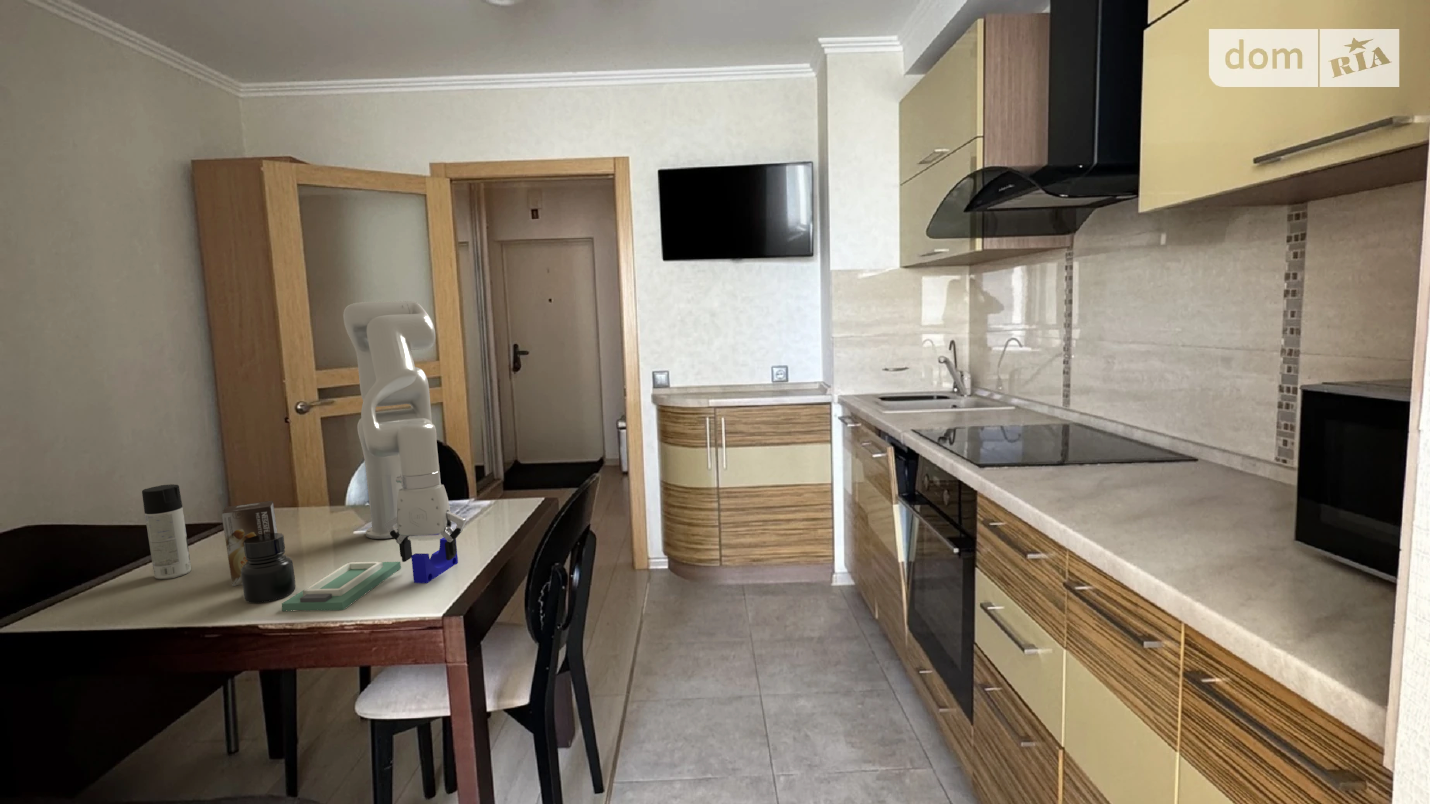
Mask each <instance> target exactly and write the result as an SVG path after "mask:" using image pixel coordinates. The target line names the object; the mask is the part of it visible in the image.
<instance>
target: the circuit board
mask: <svg viewBox="0 0 1430 804" xmlns="http://www.w3.org/2000/svg"><path fill="white" fill-rule="evenodd" d="M401 568H402V566H401V561H357V562H356V561H355V562H351V561H350V562H347V563H345V564H343V565H342V566H340V567H338V568H336V569H335V570H333V571H332V572H330V573H329V574H327V575H326V576H324V577H322V578H321V579H319V580H317V581H316V582H314V583H312V584H311V585H309V586H307V587H306V588H304V589H303V590H301V591H300V592H298V593H296V594H295V595H293V596H291V597H289V598H288V599H286V600H285V601H284V602H282V603H281V611H282V612H294V611H293V610H306V611H307V610H309V611H310V610H319V611H344V610H345V609H347V608H349V606H351V605H352V604H354V603H355V602H356V601H358V600H359V599H361V598H362V597H363V596H365V595H366V594H367V593H369V592H370V591H371V590H373V589H374V588H376V587H377V586H378V585H380V584H382V583H383V582H384V581H385V580H387V579H388V578H389V577H391V576H392V575H394V574H395V573H396V572H398V571H399V570H401ZM397 570H398V571H397ZM393 573H394V574H393ZM383 580H384V581H383ZM382 581H383V582H382ZM379 583H380V584H379ZM375 586H376V587H375ZM372 588H373V589H372ZM369 590H370V591H369ZM368 591H369V592H368ZM365 593H366V594H365ZM364 594H365V595H364ZM361 596H362V597H361ZM355 600H356V601H355ZM354 601H355V602H354ZM353 602H354V603H353ZM351 603H352V604H351ZM350 604H351V605H350ZM346 607H347V608H346ZM286 610H287V611H286ZM291 610H292V611H291ZM306 611H305V612H306ZM307 612H308V611H307ZM310 612H311V611H310Z"/></svg>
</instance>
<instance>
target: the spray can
mask: <svg viewBox="0 0 1430 804" xmlns="http://www.w3.org/2000/svg"><path fill="white" fill-rule="evenodd" d="M141 495H142V501H143V502H142V503H143V510H144V518H145V524H146V529H147V537H148V544H149V550H150V555H151V556H150V557H151V562H152V563H151V565H152V569H153V570H152V571H153V576H154V578H155V579H157V580H168V579H169V580H170V579H174V578H179V577H182V576H185V575H187V574H189V573H190V572H191V570H192V566H191V565H192V564H191V557H190V550H189V542H188V537H187V536H188V535H187V529H186V521H185V515H184V509H183V507H184V506H183V503H182V496H181V491H180V486H179V485H178V484H171V483H170V484H163V485H156V486H152V487H147V488H144V489H143V490H141Z"/></svg>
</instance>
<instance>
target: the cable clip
mask: <svg viewBox="0 0 1430 804" xmlns="http://www.w3.org/2000/svg"><path fill="white" fill-rule="evenodd" d="M445 542H447V540H446V539H445V538H444V537H443V536H442V537H441V538H440V539H439V548H438V549H439V550H437V551H434V552H433V553H431V556H430V555H429V554H430V553H418V552H417V553H414V554H412V556H411V558H410V559H411V565H412V566H411V567H412V568H411V570H412V579H413V583H414V584H428V583H429V582H432V581H433V580H434V579H436V578H438V577H439V576H440V575H442V574H443V573H445V572H446V571H448V570H450V569H451V568H452V567H454V566H455V565H457V564H458V563H459V559H458V558H459V557H458V552H457V553H456V555H455V557H454V558H452V559H451V560H446V552H445ZM456 549H457V545H456ZM457 550H458V549H457ZM432 579H433V580H432Z"/></svg>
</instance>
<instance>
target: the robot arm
mask: <svg viewBox="0 0 1430 804" xmlns="http://www.w3.org/2000/svg"><path fill="white" fill-rule="evenodd" d="M343 324H344V328H345V330H346V333H347V335H348V337H349V339H350V341H351V344H352V346H353V348H354V350H355V353H356V358H357V361H356V362H357V370H358V378H359V390H360V395H361V399H362V401H363V402H362V405H361V411H360V414H361V415H360V417H361V418H359V419H358V421H357V434H358V438H359V443H360V444H361V445H360V446H361V449H362V453H363V458H364V466H365V474H366V475H365V476H366V484H367V492H368V493H367V494H368V502H369V512H370V523H371V527H369V528H367V529H366V530H365V536H366V537H367V538H368V539H373V540H374V539H375V540H384V539H385V540H386V539H394V540H395V542H396V544H398V545H399V547H398V548H399V555H400V558H401V562H402V563H405V562H407V561H409V560H410V559H411V556H412V555H413V551H412V550H413V549H412V540H411V539H409V537H425V536H439V535H441V536H442V538H443V537H444V538H445V539H446V540H447V542H445V552H446V560H451V559H452V558H454V557H455V555H456V553H457V554H458V549H456V546H457V538H458V537H459V535H460V534H461V533H462V532H464V531H463V529H464V527H465V524H466V523H467V519H466V518H465V517H462V516H459V515H458V514H456V513H453V512H452V511H451V507H450V501H449V497H448V493H447V491H446V488H445V485H444V484H442V483H441V472H440V463H439V453H438V443H437V441H438V439H437V438H438V435H437V434H438V433H437V428H436V426H435V424H434V423H433V421H432V419H433V418H432V408H431V407H432V406H431V395H430V385H429V381H428V377H427V375H426V373H425V371H424V370H423V369H422V368H420V367H417V366H416V365H415V362H414V356H413V351H420V350H422V351H423V350H429V349H431V348H433V347H434V346H435V343H436V329H435V326H434V323H433V320H432V318H431V317H430V315H429V314H428V313H427V311H426V309H424V307H423V306H422V305H421V304H420V303H419V302H417V301H412V300H397V301H396V300H393V301H392V300H391V301H384V300H383V301H378V300H377V301H360V302H354V303H351V304H348V305H347V306H346V307H345V308H344V310H343ZM399 405H400V406H403V405H409V406H410V408H404V409H390V410H381V411H377V410H376V409H377V407H390V406H392V407H393V406H399ZM452 522H453V523H455V525H456V527H455V528H454V529H453V528H452V524H453V523H452Z"/></svg>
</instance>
